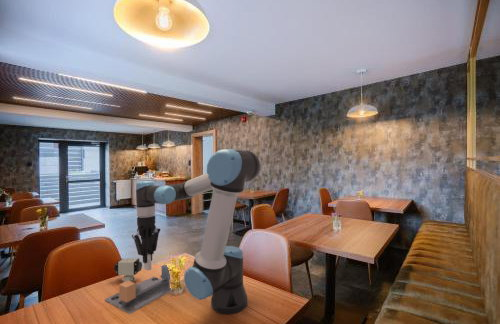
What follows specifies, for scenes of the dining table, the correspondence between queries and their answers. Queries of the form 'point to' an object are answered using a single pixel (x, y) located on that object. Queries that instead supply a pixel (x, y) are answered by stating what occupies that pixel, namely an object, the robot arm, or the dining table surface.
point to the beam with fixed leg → (147, 291)
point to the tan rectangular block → (127, 291)
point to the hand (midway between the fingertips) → (147, 269)
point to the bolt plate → (143, 301)
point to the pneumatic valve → (128, 268)
